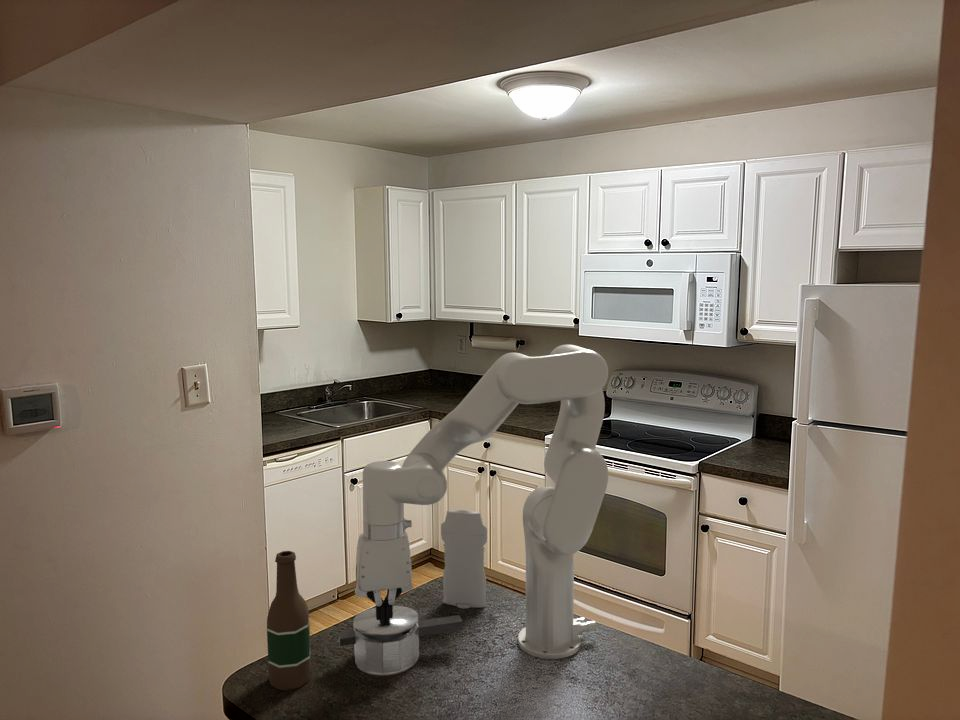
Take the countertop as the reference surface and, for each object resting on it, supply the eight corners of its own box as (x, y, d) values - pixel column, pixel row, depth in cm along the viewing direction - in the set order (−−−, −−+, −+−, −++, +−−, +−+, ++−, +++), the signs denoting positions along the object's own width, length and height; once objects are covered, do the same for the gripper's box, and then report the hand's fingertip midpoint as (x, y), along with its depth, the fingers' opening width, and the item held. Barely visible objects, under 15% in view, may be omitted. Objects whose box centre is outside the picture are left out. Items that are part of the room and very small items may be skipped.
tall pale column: (489, 602, 156) (489, 508, 153) (485, 611, 152) (484, 514, 150) (444, 597, 159) (443, 505, 156) (439, 606, 155) (437, 511, 152)
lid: (412, 605, 140) (411, 592, 140) (424, 629, 129) (423, 615, 128) (350, 614, 137) (349, 600, 137) (356, 639, 125) (356, 625, 125)
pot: (453, 629, 144) (452, 600, 143) (469, 662, 132) (468, 630, 131) (337, 647, 138) (336, 616, 137) (342, 683, 125) (341, 649, 125)
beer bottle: (300, 694, 122) (295, 563, 119) (260, 689, 124) (254, 560, 121) (319, 669, 130) (314, 546, 127) (281, 665, 131) (276, 543, 129)
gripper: (419, 518, 134) (419, 608, 136) (341, 525, 130) (342, 618, 132) (427, 531, 127) (427, 626, 129) (344, 539, 123) (346, 637, 125)
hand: (384, 622), depth 131 cm, fingers closed
